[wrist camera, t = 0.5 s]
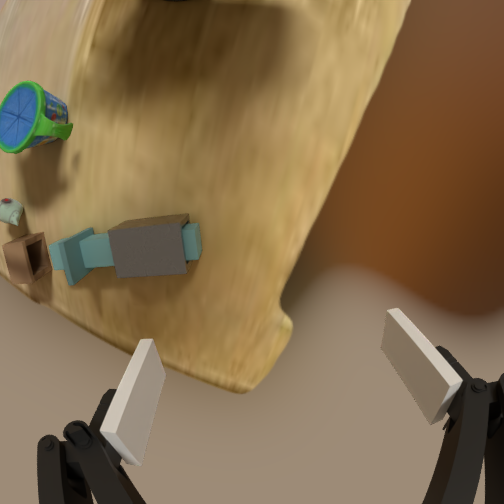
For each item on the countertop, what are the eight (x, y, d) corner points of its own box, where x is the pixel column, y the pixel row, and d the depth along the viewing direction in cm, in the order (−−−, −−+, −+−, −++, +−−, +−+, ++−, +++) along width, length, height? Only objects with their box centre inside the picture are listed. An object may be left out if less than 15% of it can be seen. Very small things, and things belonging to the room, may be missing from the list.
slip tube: (62, 232, 38) (32, 247, 30) (198, 215, 39) (188, 228, 30) (70, 266, 40) (42, 286, 32) (203, 255, 40) (194, 278, 32)
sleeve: (125, 220, 39) (107, 230, 33) (188, 213, 39) (179, 222, 33) (132, 262, 41) (117, 278, 35) (194, 257, 41) (186, 273, 35)
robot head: (8, 209, 36) (-15, 217, 30) (11, 189, 35) (-13, 194, 29) (33, 223, 38) (9, 233, 31) (36, 201, 37) (12, 209, 30)
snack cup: (98, 109, 33) (62, 97, 23) (68, 168, 36) (29, 173, 26) (43, 80, 30) (8, 69, 20) (18, 133, 32) (-19, 132, 23)
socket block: (23, 235, 38) (2, 245, 32) (43, 232, 38) (21, 241, 32) (31, 271, 40) (12, 283, 34) (52, 269, 40) (32, 283, 34)
